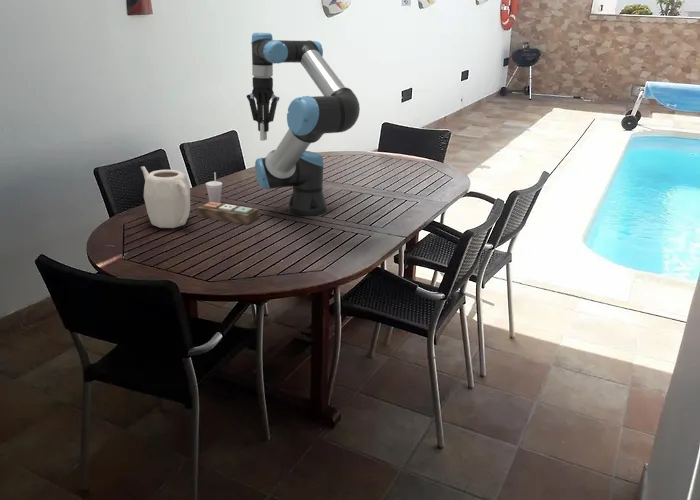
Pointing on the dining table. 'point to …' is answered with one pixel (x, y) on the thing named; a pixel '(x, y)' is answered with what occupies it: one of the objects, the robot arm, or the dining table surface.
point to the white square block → (228, 207)
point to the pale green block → (243, 210)
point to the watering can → (166, 197)
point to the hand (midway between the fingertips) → (263, 139)
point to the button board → (228, 215)
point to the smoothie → (214, 190)
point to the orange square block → (213, 205)
